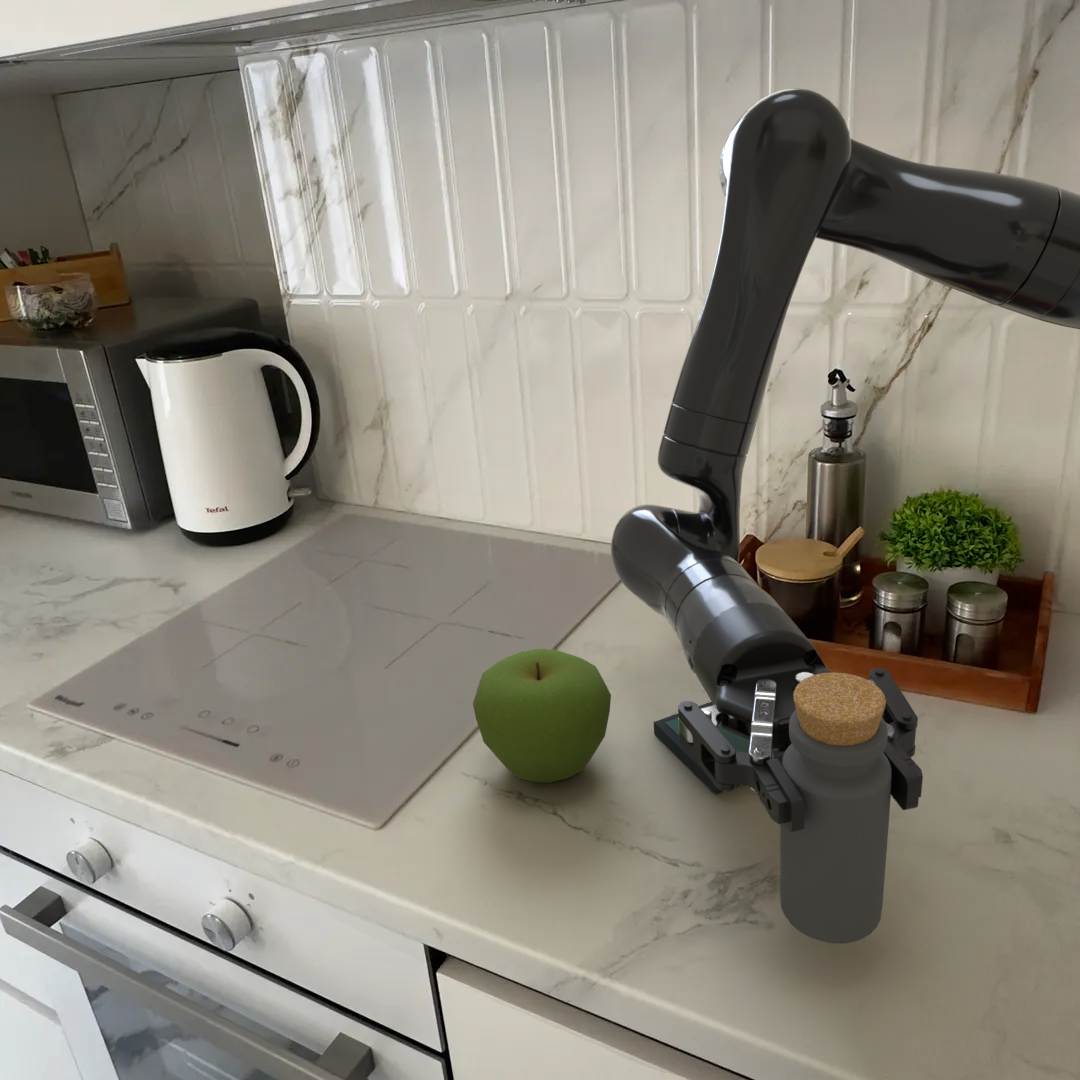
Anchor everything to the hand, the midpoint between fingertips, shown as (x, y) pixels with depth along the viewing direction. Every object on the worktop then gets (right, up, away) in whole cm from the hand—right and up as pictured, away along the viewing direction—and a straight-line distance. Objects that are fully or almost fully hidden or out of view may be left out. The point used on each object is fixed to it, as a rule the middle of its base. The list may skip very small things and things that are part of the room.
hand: (855, 806), depth 52 cm
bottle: (0, -8, +6) cm, 10 cm away
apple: (-16, -4, +26) cm, 31 cm away
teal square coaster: (-1, -2, +27) cm, 27 cm away
